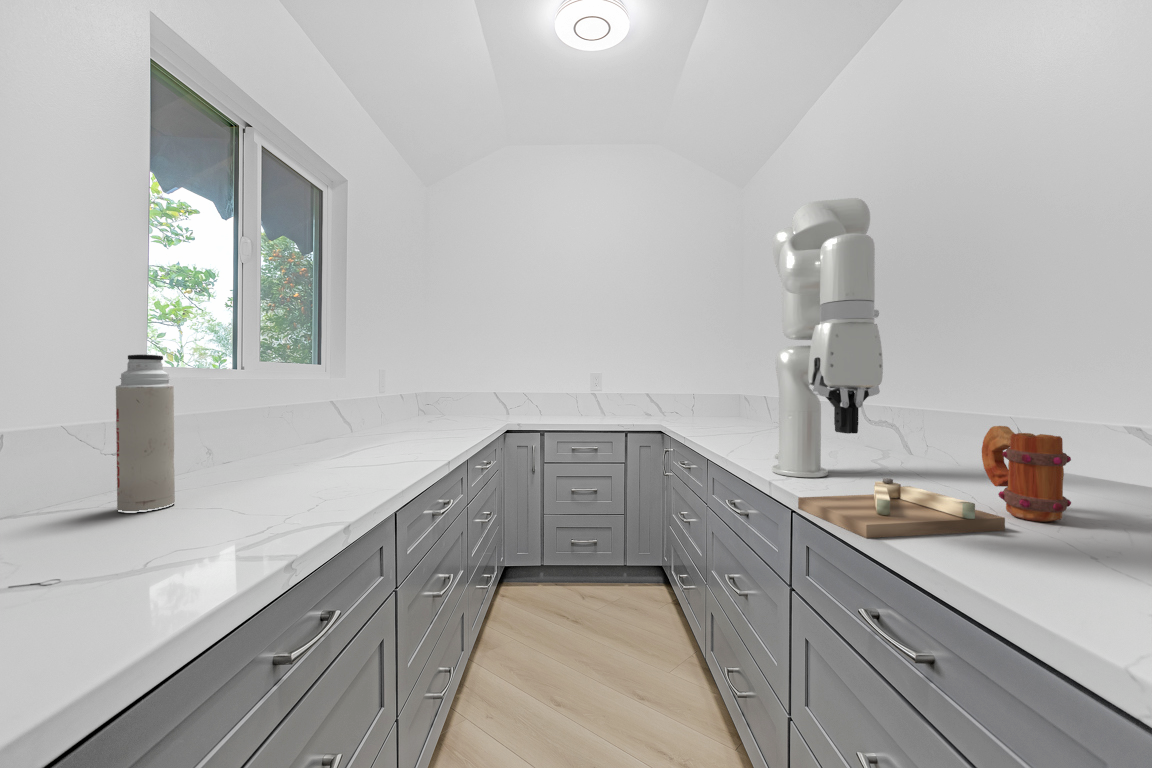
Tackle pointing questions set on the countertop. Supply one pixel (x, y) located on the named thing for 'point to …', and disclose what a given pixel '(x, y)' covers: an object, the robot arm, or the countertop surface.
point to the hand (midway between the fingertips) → (846, 432)
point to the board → (894, 517)
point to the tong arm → (885, 496)
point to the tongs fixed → (937, 501)
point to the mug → (1027, 472)
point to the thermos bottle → (145, 435)
